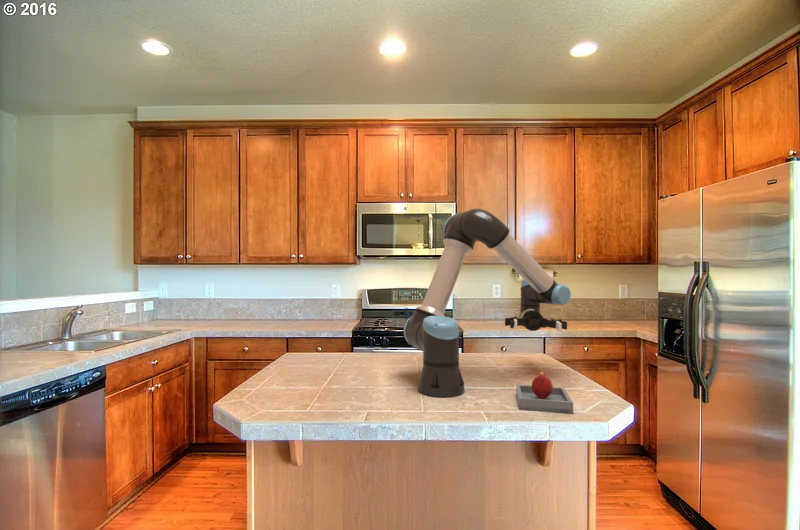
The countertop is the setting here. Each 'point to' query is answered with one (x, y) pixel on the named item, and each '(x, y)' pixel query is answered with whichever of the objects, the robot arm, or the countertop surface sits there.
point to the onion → (542, 386)
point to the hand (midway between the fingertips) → (537, 326)
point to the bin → (544, 400)
